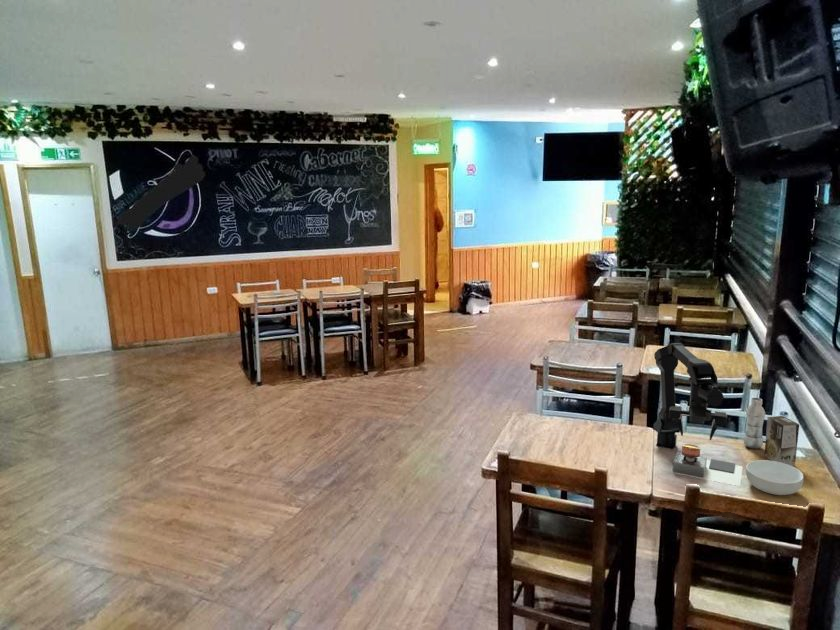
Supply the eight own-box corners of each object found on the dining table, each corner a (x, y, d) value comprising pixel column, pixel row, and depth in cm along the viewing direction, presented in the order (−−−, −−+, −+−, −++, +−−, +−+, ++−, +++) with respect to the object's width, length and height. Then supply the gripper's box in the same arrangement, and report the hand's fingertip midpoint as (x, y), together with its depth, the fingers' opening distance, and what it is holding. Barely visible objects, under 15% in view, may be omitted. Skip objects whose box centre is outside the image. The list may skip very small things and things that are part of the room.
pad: (708, 468, 213) (709, 467, 213) (711, 460, 220) (711, 459, 219) (733, 473, 209) (733, 472, 209) (735, 464, 215) (735, 463, 215)
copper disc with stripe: (679, 471, 212) (681, 448, 210) (681, 464, 217) (683, 442, 215) (697, 474, 208) (699, 451, 207) (699, 467, 214) (701, 445, 212)
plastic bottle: (765, 450, 227) (770, 401, 223) (748, 450, 227) (752, 402, 224) (756, 443, 234) (761, 396, 230) (739, 444, 234) (743, 396, 230)
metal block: (672, 472, 211) (673, 461, 210) (676, 461, 219) (677, 451, 218) (703, 478, 206) (704, 467, 205) (706, 466, 214) (706, 456, 213)
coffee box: (796, 465, 214) (800, 424, 211) (779, 466, 214) (783, 425, 211) (779, 455, 223) (783, 415, 220) (763, 456, 223) (767, 416, 220)
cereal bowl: (741, 474, 209) (743, 456, 207) (796, 482, 202) (798, 463, 201) (747, 497, 193) (749, 477, 192) (806, 506, 187) (809, 486, 185)
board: (673, 474, 210) (674, 472, 210) (680, 456, 225) (680, 454, 224) (740, 487, 200) (740, 486, 200) (742, 467, 214) (742, 466, 214)
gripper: (668, 400, 205) (666, 441, 208) (728, 407, 196) (725, 450, 199) (671, 390, 214) (668, 430, 217) (728, 397, 206) (725, 438, 209)
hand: (696, 437), depth 210 cm, fingers open, 9 cm apart
